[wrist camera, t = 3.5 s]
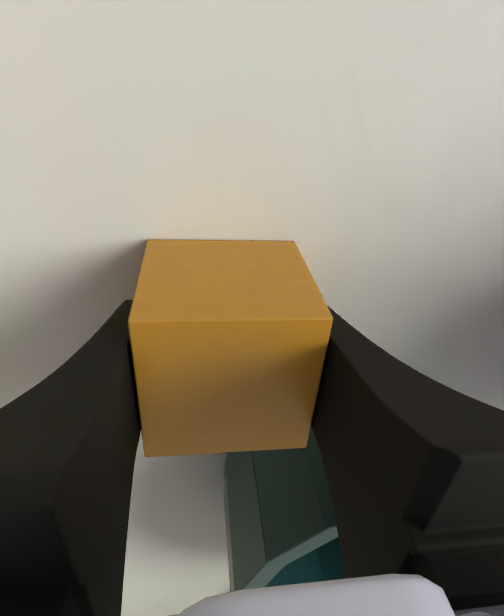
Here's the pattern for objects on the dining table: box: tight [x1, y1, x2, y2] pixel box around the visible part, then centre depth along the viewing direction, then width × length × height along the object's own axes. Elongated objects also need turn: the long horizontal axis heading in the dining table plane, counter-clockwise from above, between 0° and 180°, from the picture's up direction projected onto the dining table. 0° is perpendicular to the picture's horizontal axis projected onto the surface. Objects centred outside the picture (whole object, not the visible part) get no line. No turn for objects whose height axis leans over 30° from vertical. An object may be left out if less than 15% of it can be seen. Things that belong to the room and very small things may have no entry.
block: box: [128, 240, 333, 457], centre depth 11 cm, size 4×4×4 cm
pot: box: [224, 426, 346, 592], centre depth 17 cm, size 11×11×5 cm
